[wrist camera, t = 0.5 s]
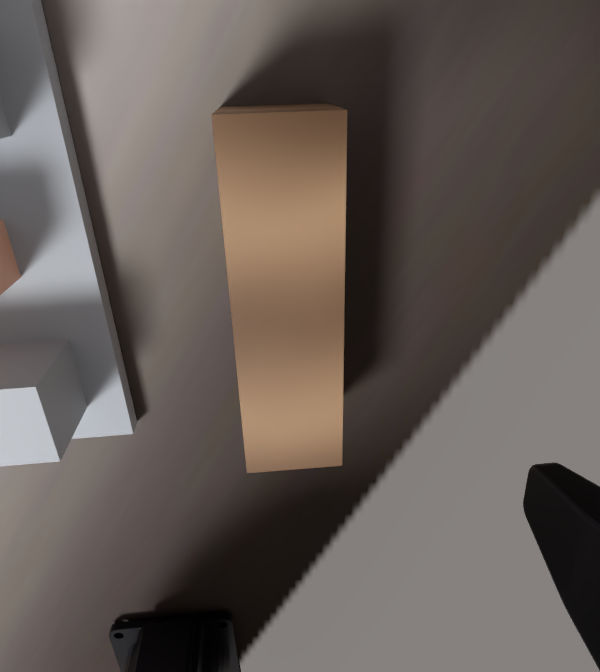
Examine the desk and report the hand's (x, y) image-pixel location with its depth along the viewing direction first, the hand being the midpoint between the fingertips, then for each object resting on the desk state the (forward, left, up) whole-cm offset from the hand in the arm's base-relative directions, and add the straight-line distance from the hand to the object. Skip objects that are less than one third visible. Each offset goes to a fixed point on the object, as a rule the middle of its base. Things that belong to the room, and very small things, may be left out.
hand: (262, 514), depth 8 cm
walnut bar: (0, -1, -12) cm, 12 cm away
